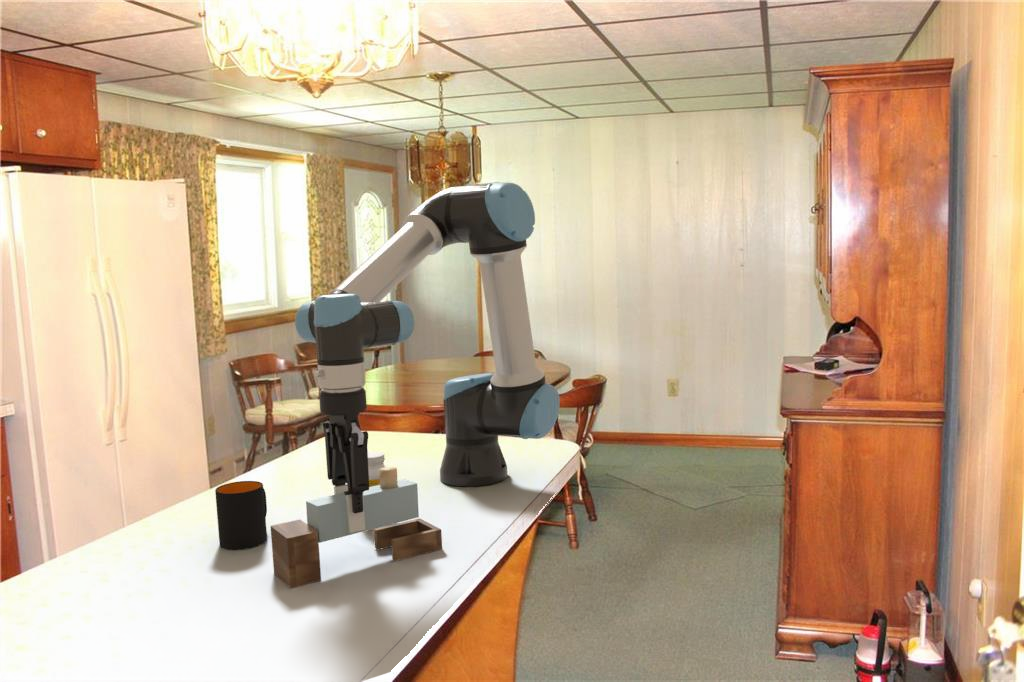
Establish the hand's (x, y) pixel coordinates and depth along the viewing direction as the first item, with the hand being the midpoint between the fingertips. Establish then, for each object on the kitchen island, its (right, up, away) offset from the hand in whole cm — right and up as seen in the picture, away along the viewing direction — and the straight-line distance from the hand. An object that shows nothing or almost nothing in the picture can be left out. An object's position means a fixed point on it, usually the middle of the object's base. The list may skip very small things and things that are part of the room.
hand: (350, 526), depth 146 cm
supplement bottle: (0, -4, +24) cm, 24 cm away
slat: (+2, 0, +2) cm, 3 cm away
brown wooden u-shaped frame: (+9, -5, +6) cm, 12 cm away
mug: (-21, -6, +15) cm, 27 cm away
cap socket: (-8, -7, -4) cm, 11 cm away
